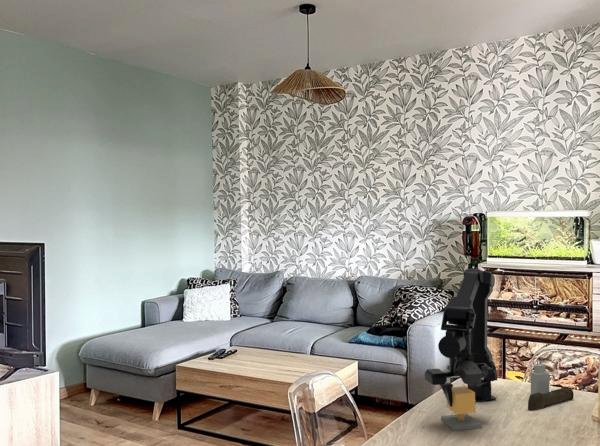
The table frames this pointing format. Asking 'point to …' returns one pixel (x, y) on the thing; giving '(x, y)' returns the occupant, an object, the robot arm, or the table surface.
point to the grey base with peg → (461, 422)
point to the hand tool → (549, 398)
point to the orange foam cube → (462, 400)
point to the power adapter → (539, 378)
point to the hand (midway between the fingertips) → (460, 405)
